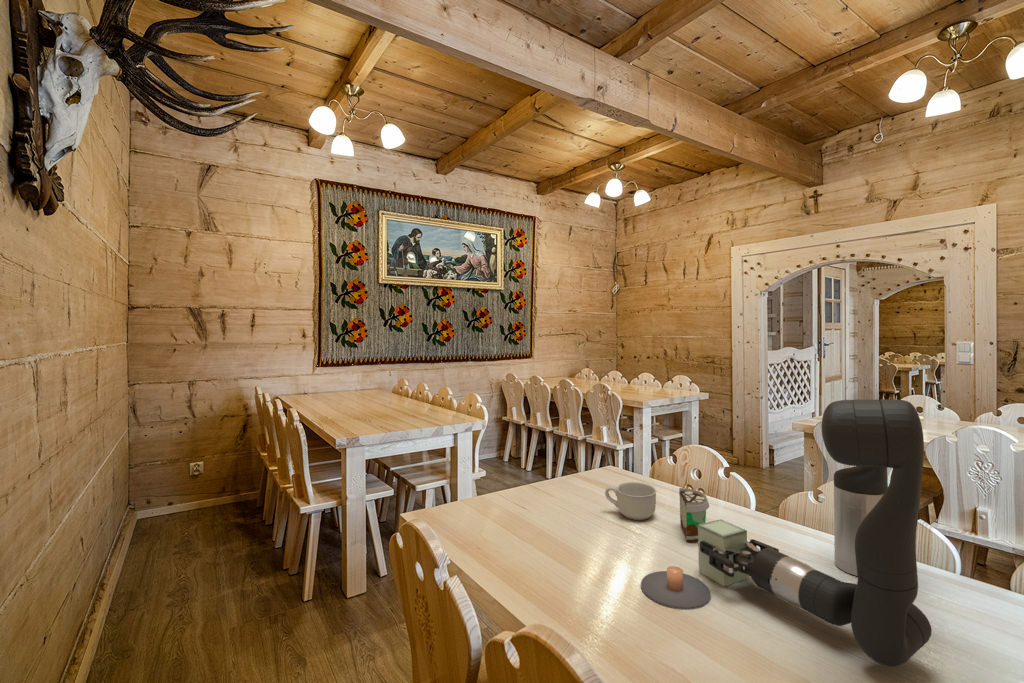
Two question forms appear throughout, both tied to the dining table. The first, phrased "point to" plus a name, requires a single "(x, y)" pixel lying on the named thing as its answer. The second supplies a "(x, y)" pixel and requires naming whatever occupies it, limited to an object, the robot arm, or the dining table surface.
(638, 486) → the teacup
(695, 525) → the food container
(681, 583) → the pillar candle
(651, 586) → the mat
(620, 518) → the dining table surface
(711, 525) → the upright green box
